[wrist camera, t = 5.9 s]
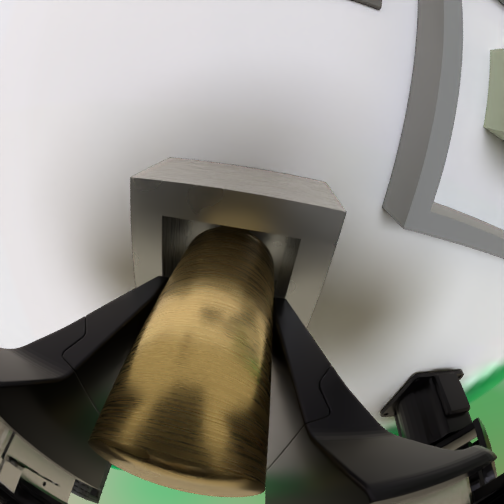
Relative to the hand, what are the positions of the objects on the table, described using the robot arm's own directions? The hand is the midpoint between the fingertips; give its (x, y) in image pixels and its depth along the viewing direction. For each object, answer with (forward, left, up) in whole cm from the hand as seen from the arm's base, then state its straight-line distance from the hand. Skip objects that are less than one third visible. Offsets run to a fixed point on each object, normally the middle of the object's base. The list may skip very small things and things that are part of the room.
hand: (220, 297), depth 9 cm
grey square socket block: (0, 0, -4) cm, 5 cm away
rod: (0, 0, -2) cm, 2 cm away
